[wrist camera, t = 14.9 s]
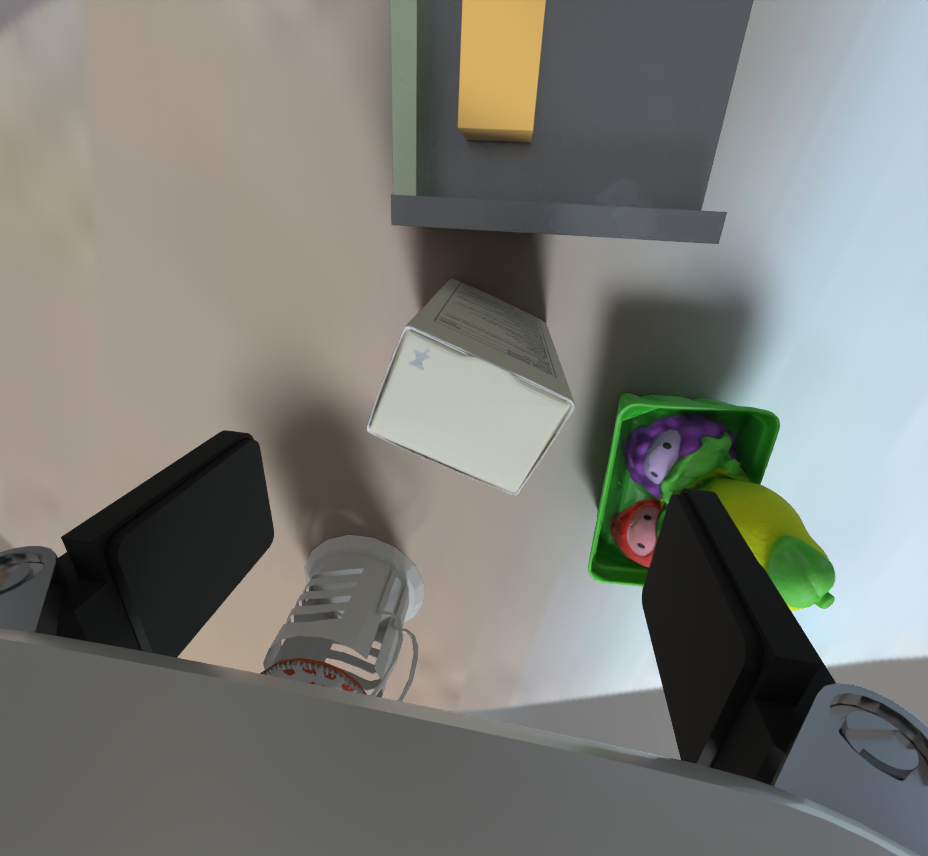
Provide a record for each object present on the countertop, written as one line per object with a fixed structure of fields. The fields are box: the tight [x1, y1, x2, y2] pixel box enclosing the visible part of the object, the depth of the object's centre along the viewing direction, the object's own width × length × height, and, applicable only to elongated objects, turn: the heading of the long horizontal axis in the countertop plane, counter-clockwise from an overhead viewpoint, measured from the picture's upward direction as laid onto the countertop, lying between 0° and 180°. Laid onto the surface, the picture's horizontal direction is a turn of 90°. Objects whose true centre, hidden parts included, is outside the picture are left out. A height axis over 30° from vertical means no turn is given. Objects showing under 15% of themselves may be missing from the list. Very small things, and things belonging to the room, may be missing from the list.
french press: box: [261, 535, 424, 702], centre depth 24 cm, size 10×12×25 cm
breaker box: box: [390, 0, 753, 244], centre depth 19 cm, size 14×12×4 cm
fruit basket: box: [588, 393, 835, 611], centre depth 23 cm, size 11×9×11 cm
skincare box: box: [366, 278, 575, 495], centre depth 20 cm, size 6×4×12 cm
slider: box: [458, 0, 546, 142], centre depth 18 cm, size 3×5×3 cm, turn 177°
